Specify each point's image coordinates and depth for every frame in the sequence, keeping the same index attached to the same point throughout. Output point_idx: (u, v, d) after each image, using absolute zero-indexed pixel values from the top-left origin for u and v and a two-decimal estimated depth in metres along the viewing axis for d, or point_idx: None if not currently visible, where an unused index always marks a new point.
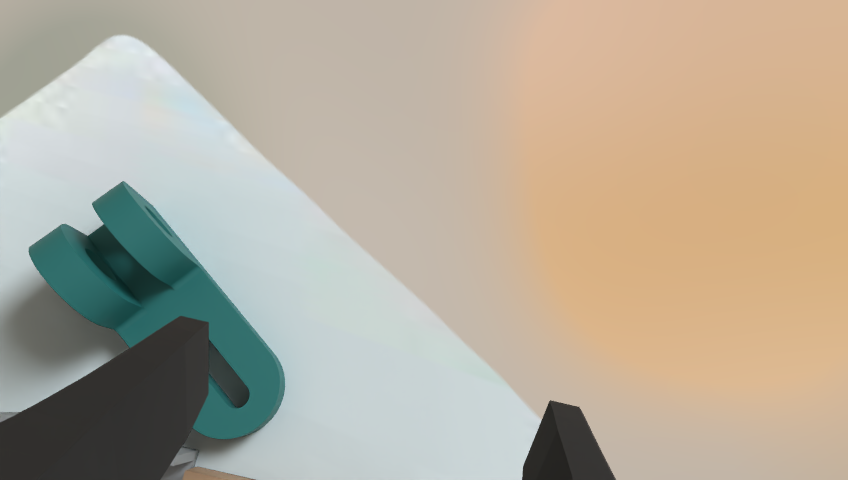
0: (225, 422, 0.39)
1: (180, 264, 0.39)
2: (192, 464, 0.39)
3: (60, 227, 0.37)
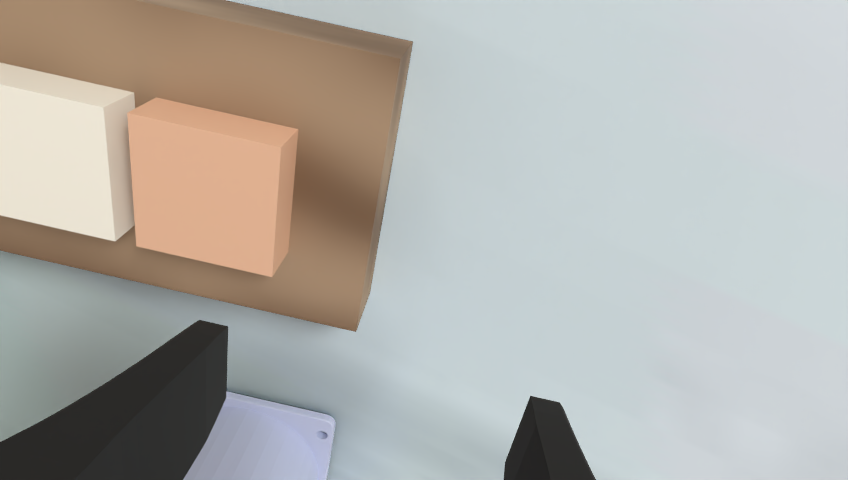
0: None
1: None
2: None
3: None
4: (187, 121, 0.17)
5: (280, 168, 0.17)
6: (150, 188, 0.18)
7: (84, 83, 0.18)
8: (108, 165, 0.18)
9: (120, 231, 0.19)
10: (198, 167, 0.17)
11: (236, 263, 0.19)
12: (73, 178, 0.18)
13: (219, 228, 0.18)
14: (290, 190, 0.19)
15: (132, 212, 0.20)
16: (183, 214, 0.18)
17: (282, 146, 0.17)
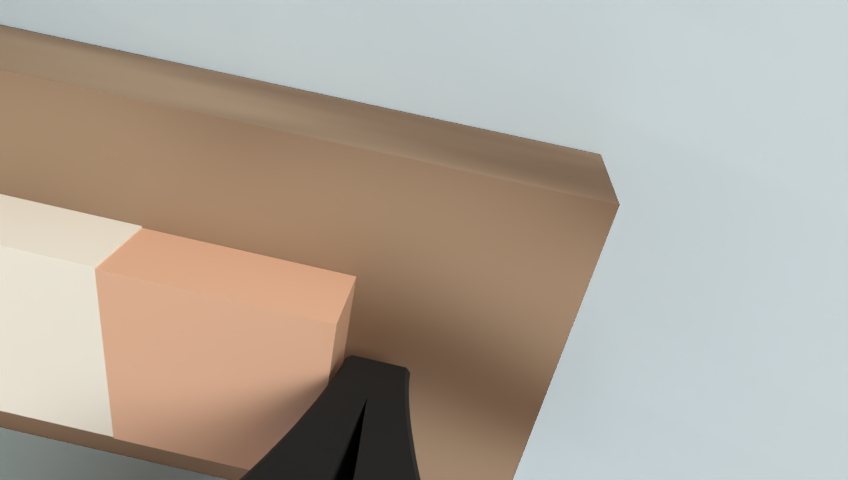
0: None
1: None
2: None
3: None
4: (189, 278, 0.11)
5: (333, 350, 0.11)
6: (132, 368, 0.12)
7: (66, 212, 0.12)
8: (102, 343, 0.12)
9: None
10: (206, 345, 0.11)
11: None
12: (50, 357, 0.12)
13: (236, 423, 0.12)
14: (341, 360, 0.13)
15: None
16: (183, 403, 0.12)
17: (337, 321, 0.11)
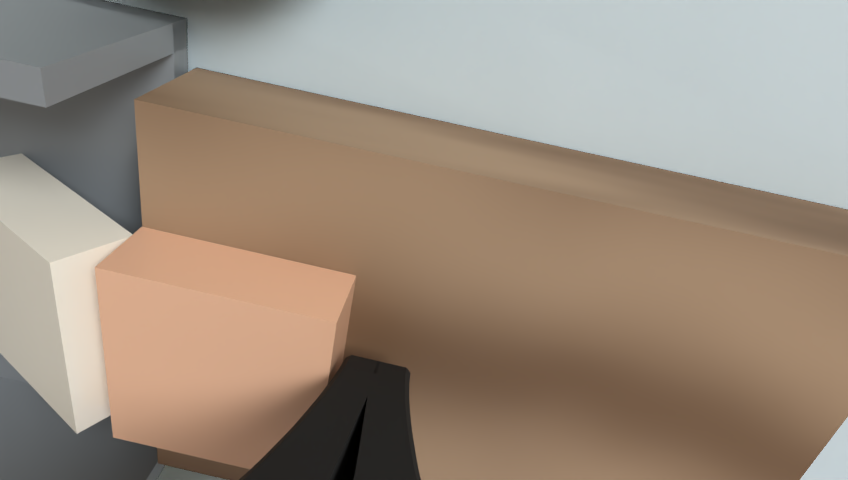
0: None
1: None
2: (175, 65, 0.12)
3: None
4: (189, 276, 0.11)
5: (333, 349, 0.11)
6: (132, 367, 0.12)
7: (90, 206, 0.13)
8: (62, 339, 0.12)
9: (90, 419, 0.13)
10: (206, 343, 0.11)
11: None
12: (36, 338, 0.12)
13: (236, 421, 0.12)
14: (340, 359, 0.13)
15: None
16: (182, 402, 0.12)
17: (337, 320, 0.11)
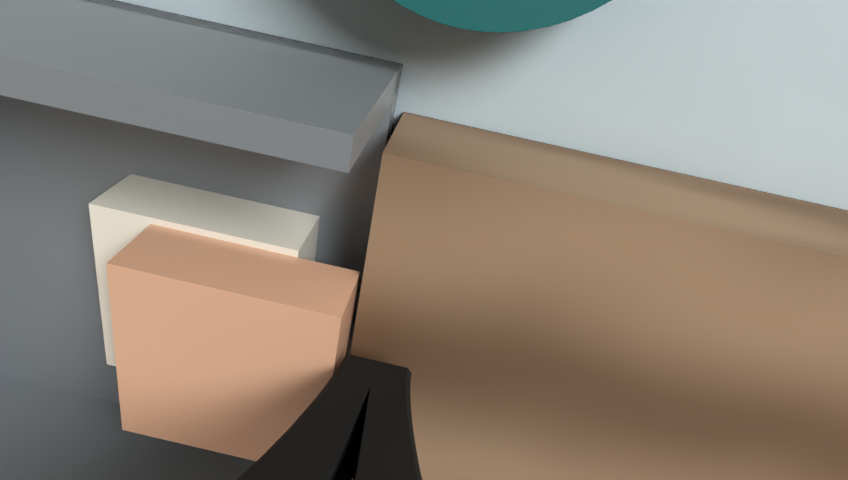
0: None
1: None
2: (391, 112, 0.12)
3: None
4: (198, 272, 0.11)
5: (338, 343, 0.11)
6: (142, 361, 0.12)
7: (252, 203, 0.14)
8: None
9: None
10: (214, 338, 0.12)
11: None
12: None
13: (243, 414, 0.13)
14: (345, 353, 0.13)
15: None
16: (190, 395, 0.12)
17: (342, 314, 0.11)
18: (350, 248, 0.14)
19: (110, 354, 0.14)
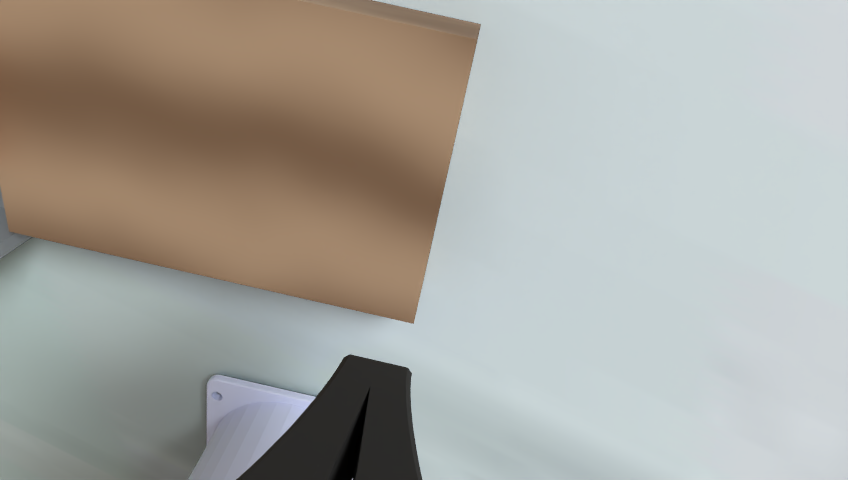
0: None
1: None
2: None
3: None
4: None
5: None
6: None
7: None
8: None
9: None
10: None
11: None
12: None
13: None
14: None
15: None
16: None
17: None
18: None
19: None
